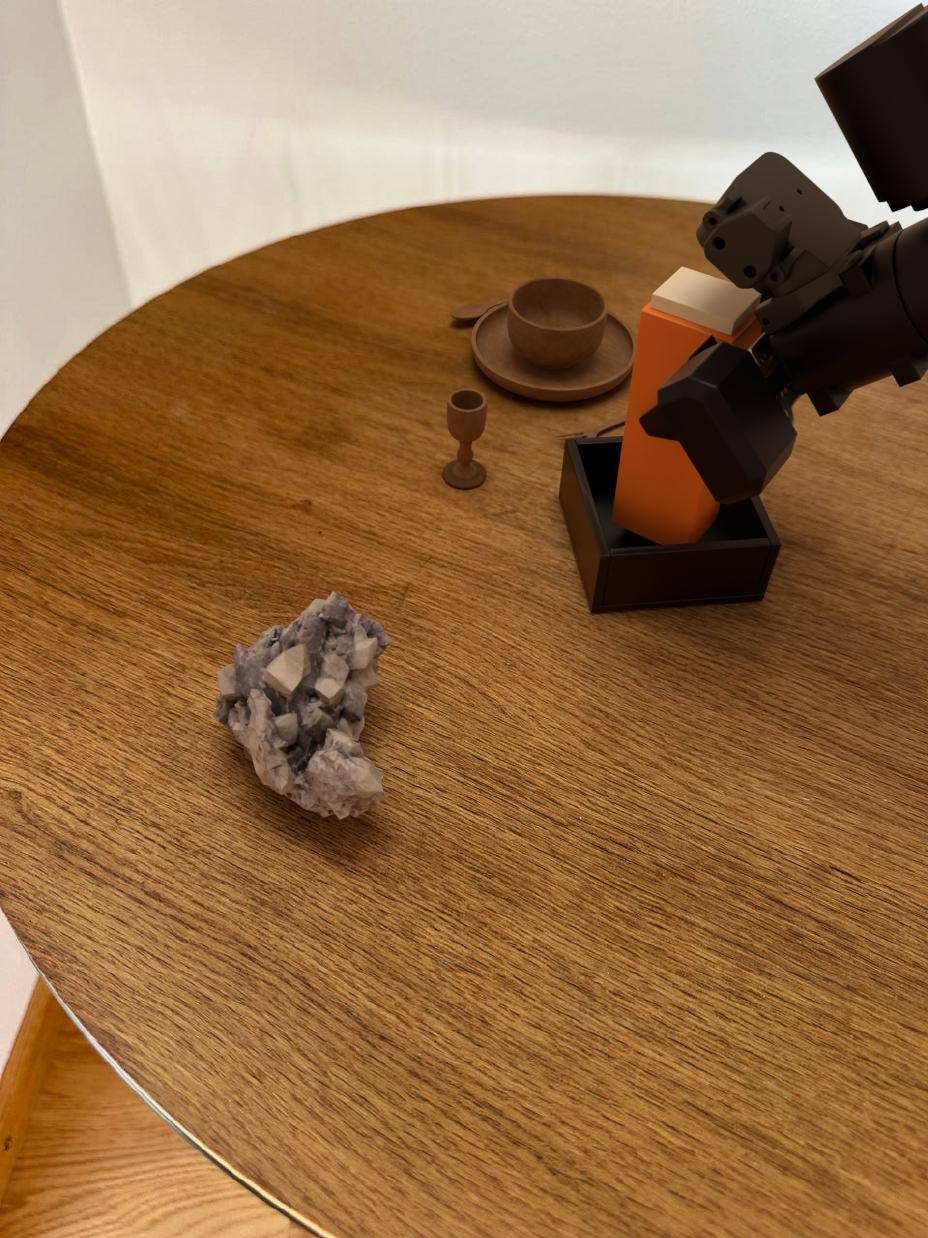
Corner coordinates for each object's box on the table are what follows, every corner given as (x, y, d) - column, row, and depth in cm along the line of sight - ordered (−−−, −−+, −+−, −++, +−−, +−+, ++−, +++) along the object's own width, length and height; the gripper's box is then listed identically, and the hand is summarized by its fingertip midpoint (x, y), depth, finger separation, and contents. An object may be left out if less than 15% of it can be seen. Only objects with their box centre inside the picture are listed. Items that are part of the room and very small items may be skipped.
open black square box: (713, 486, 69) (728, 429, 66) (762, 601, 63) (782, 544, 59) (558, 496, 68) (565, 438, 65) (590, 614, 61) (600, 556, 58)
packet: (717, 518, 64) (771, 290, 53) (686, 557, 62) (736, 327, 51) (642, 486, 66) (680, 260, 55) (610, 523, 64) (642, 294, 53)
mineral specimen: (396, 840, 47) (329, 627, 44) (206, 868, 49) (132, 668, 47) (450, 725, 58) (399, 551, 56) (294, 753, 61) (238, 587, 58)
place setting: (697, 397, 76) (714, 323, 71) (463, 499, 68) (466, 424, 63) (545, 285, 85) (552, 214, 81) (324, 363, 77) (319, 289, 73)
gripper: (918, 52, 50) (666, 210, 62) (746, 206, 39) (483, 360, 51) (1022, 263, 53) (761, 374, 65) (888, 459, 42) (607, 547, 54)
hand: (662, 406), depth 59 cm, fingers closed on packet, 4 cm apart
